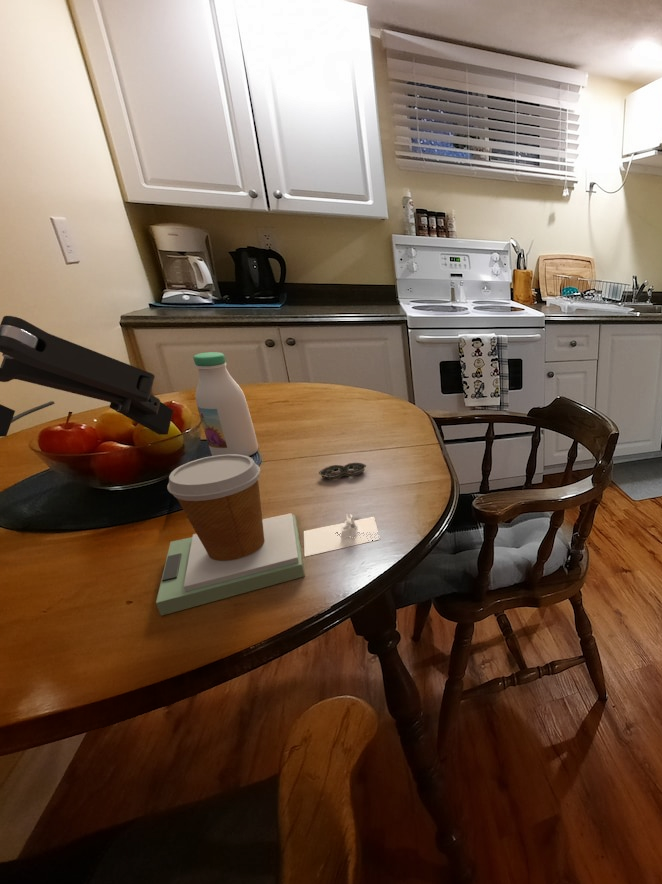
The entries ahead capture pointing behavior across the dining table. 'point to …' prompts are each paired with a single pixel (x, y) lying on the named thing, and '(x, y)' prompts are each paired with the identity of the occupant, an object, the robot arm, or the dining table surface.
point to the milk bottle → (223, 408)
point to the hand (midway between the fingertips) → (88, 423)
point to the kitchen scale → (229, 568)
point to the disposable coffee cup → (221, 503)
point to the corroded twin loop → (342, 470)
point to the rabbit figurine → (328, 540)
